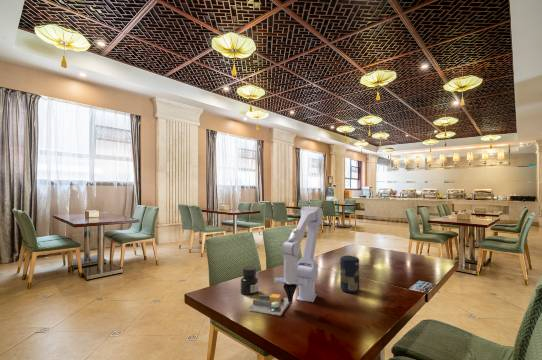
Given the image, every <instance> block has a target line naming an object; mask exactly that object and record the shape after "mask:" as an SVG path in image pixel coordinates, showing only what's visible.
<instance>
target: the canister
mask: <svg viewBox="0 0 542 360" xmlns="http://www.w3.org/2000/svg"><path fill="white" fill-rule="evenodd" d="M339 263H340V264H339V265H340V266H339V268H340V269H339V271H340V272H339V273H340V276H339V277H340V278H339V279H340V289H341V290H342V291H343V292H345V293H351V294H353V293H358V292H359V291H360V259H359V257H357V256H354V255H353V256H352V255H349V254H348V255H343V256H342V255H341V257H340V259H339Z"/></svg>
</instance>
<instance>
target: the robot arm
mask: <svg viewBox="0 0 542 360" xmlns="http://www.w3.org/2000/svg"><path fill="white" fill-rule="evenodd" d="M323 217H324V211H323V208H322V207H321V206H302V207H301V208H300V219H299V221H298V224H297V226H296V228H293V229H292V231H291V233H290V235H289V236H288V239H287V240H286V241H285V242H283V243H282V245H281V249H280V250H281V254H282V258H283V277H275V278H274V279H273V283H274V284H281V285H282V284H283V290H284V291H285V294H286V298H288V302H290V303H293V300H294V296H295V292H296V290H297V287H298V296H297V297H296V301H302V302H310V303H311V302H312V303H314V301H315V299H316V297H317V293H316V292H315V291H316V290H315V289H316V288H315V286H316V285H315V280H316V279H317V278H318V275H319V265H318V263H317V262H316V261H315V259H314V257H315V252H316V245H317V240H318V234H319V229H320V226H321V225H322V224H323V223H322V222H323ZM306 228H307V233H306V240H305V243H304V244H305V246H304V250H303V255H302V257H301V258H300V259H298V255H299V254H300V249H301V246H302V245H301V244H302V241H303V239H304V237H305V233H304V232H305V230H306Z"/></svg>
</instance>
